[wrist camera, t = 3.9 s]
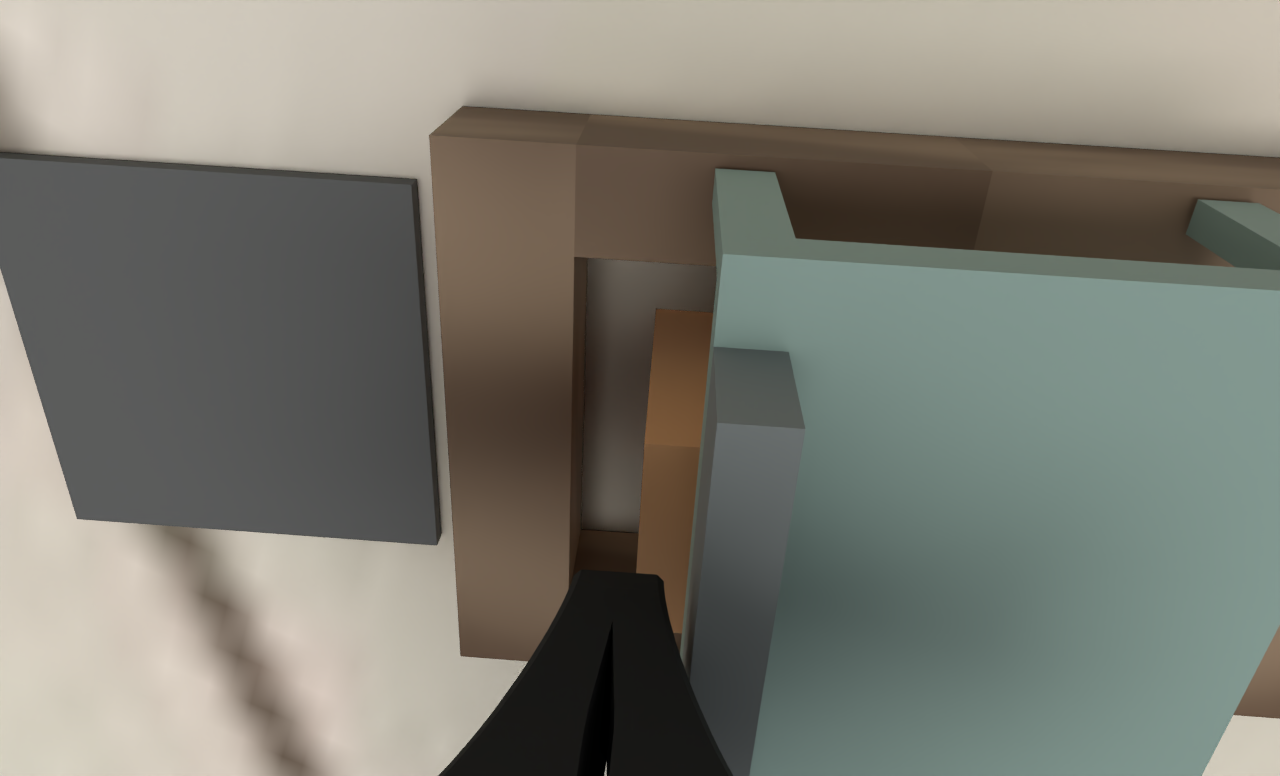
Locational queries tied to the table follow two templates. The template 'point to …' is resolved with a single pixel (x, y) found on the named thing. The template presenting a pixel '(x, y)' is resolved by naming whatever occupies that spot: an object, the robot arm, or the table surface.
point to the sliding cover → (982, 501)
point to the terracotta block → (673, 450)
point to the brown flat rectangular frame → (684, 234)
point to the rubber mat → (227, 344)
